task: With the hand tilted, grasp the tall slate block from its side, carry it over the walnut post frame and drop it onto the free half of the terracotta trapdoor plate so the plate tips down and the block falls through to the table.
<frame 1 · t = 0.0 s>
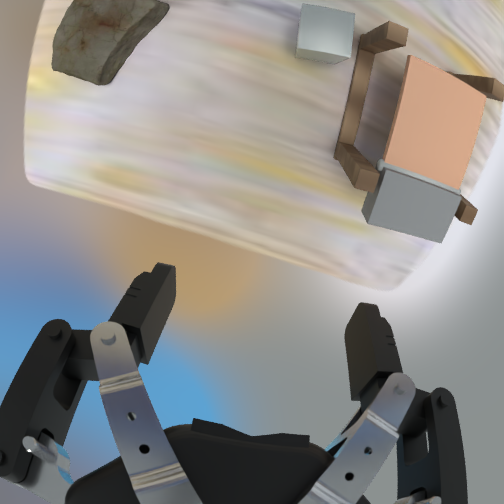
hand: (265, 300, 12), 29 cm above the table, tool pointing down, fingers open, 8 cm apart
slate block: (321, 37, 24), point 5 cm above the table
frame: (401, 112, 31), on the table
marble piece: (107, 35, 29), on the table
trapdoor: (430, 153, 24), point 11 cm above the table, hinge at 0.0°
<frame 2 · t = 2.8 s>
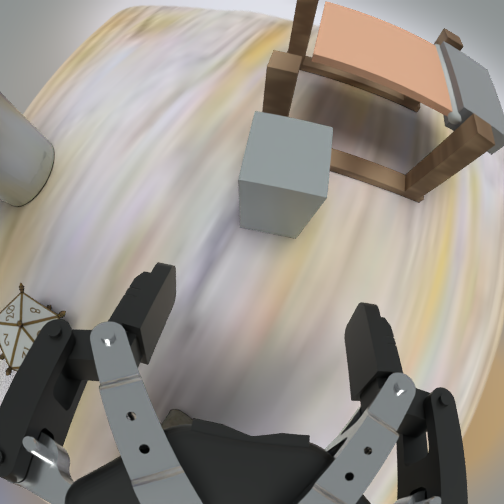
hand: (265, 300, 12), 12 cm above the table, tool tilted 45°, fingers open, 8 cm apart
slate block: (279, 184, 21), point 5 cm above the table
frame: (351, 118, 28), on the table
game die: (53, 334, 23), on the table
marble piece: (194, 492, 21), on the table
trapdoor: (418, 63, 17), point 11 cm above the table, hinge at 0.0°
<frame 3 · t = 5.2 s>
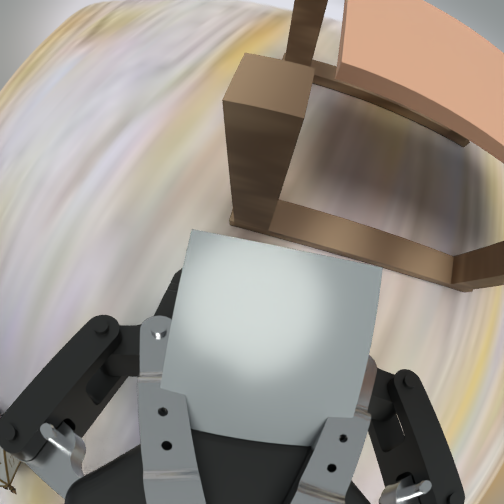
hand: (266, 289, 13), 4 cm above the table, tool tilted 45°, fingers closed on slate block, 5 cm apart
slate block: (260, 331, 11), point 5 cm above the table, touching gripper
frame: (380, 161, 19), on the table
game die: (9, 436, 14), on the table
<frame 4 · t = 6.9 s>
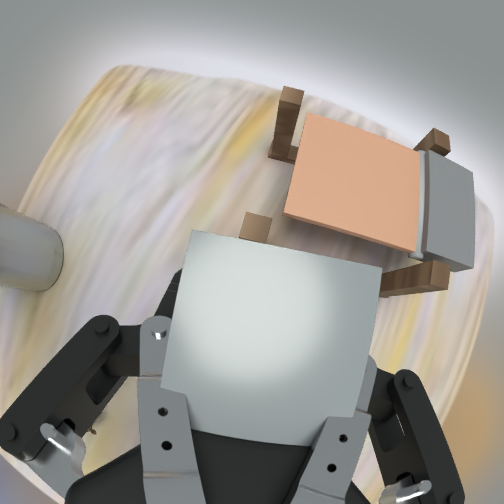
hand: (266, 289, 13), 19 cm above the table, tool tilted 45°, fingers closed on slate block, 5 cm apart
slate block: (260, 331, 11), point 20 cm above the table, touching gripper
frame: (329, 217, 33), on the table
trapdoor: (393, 190, 22), point 11 cm above the table, hinge at 0.0°
when the fingers open (18 cm above the table, at t = 8.6 s): slate block drops 5 cm, resting on trapdoor.
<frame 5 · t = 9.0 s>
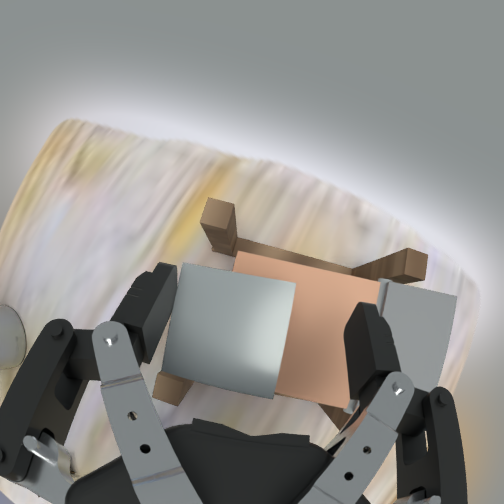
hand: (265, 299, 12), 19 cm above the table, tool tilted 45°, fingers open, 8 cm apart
slate block: (243, 327, 16), point 14 cm above the table, tilted 9°, touching gripper, trapdoor
frame: (278, 322, 30), on the table
trapdoor: (333, 339, 20), point 10 cm above the table, hinge at -14.9°, touching slate block
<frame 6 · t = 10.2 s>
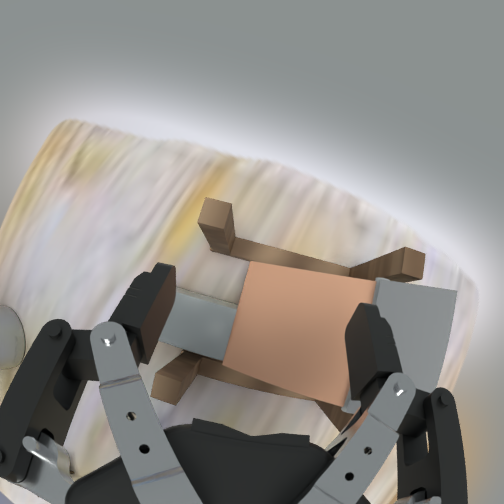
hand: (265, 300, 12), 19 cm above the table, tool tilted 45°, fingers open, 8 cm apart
slate block: (183, 316, 28), point 3 cm above the table, tilted 90°, touching trapdoor
frame: (276, 322, 31), on the table
trapdoor: (332, 338, 21), point 9 cm above the table, hinge at -32.1°, touching slate block
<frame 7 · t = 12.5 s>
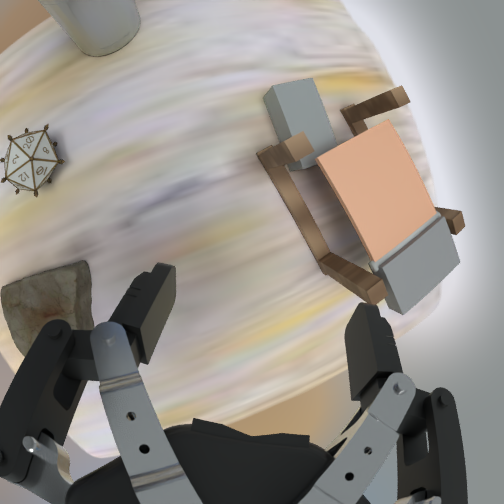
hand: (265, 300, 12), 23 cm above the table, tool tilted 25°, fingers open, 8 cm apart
slate block: (300, 125, 31), point 2 cm above the table, tilted 90°
frame: (339, 186, 36), on the table
game die: (45, 162, 29), on the table
marble piece: (58, 317, 33), on the table
trapdoor: (397, 214, 27), point 11 cm above the table, hinge at -8.8°
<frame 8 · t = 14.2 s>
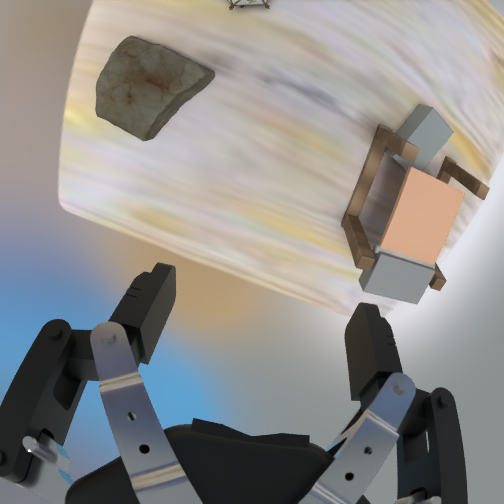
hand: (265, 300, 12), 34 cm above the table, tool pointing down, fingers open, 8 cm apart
slate block: (418, 139, 35), point 2 cm above the table, tilted 90°
frame: (400, 191, 42), on the table
marble piece: (151, 88, 38), on the table
trapdoor: (415, 239, 35), point 11 cm above the table, hinge at -7.7°
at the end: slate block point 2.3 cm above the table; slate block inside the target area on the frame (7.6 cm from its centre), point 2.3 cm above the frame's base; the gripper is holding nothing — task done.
